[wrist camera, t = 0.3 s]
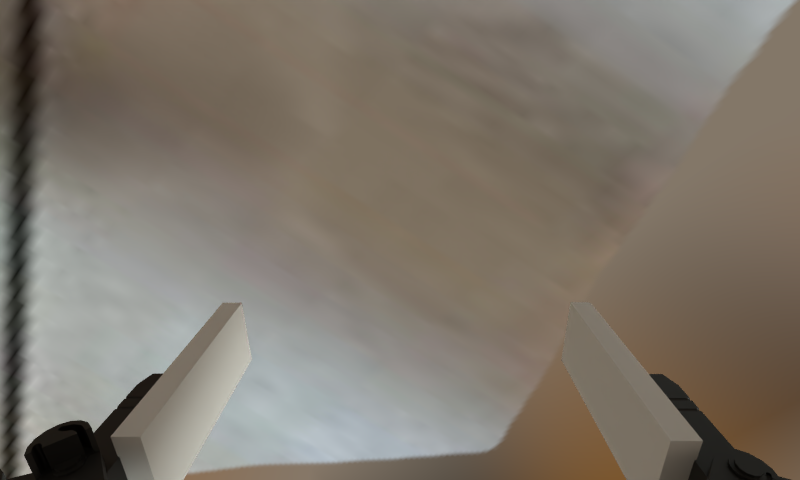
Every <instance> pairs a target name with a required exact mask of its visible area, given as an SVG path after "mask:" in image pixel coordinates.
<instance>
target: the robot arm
mask: <svg viewBox="0 0 800 480" xmlns="http://www.w3.org/2000/svg"><path fill="white" fill-rule="evenodd" d="M251 360H252V358H251V352H250V347H249V341H248V335H247V330H246V324H245V319H244V313H243V307H242V303H222V305H221V306H220V307H219V308H218V309H217V310H216V312H215V313H214V314H213V315H212V316H211V318H210V319H209V320H208V321H207V322H206V324H205V325H204V326H203V327H202V328H201V330H200V331H199V332H198V333H197V334H196V335H195V337H194V338H193V339H192V340H191V341H190V343H189V344H188V345H187V346H186V347H185V349H184V350H183V351H182V352H181V353H180V355H179V356H178V357H177V358H176V359H175V360H174V362H173V363H172V364H171V365H170V366H169V368H168V369H167V370H166V371H165V372H164V374H152V375H150V376H149V377H147V378H146V379H145V380H143V381H142V382H140V383H139V384H137V385H136V387H135V388H134V389H133V390H132V391H131V392H130V393H129V394H128V395H127V397H126V399H124V400H123V401H122V402H121V403H120V404H119V405H118V408H117V409H115V410H114V411H113V412H112V413H111V414H110V416H109V417H108V418H107V419H106V420H105V421H104V422H103V423H102V424H101V426H100V427H99V428H98V429H97V430H96V431H95V432H94V433H93V431H92V428H91V426H90V425H89V423H88V422H85V421H81V420H79V421H69V422H66V423H63V424H59V425H57V426H55V427H53V428H51V429H49V430H47V431H45V432H44V433H42V434H41V435H40V436H38V437H37V438H35V439H34V440H33V442H32V443H31V444H30V445H29V446H28V447H27V449H26V452H25V454H24V456H25V458H26V460H27V463H28V465H29V467H30V469H31V471H32V473H31V474H27V475H23V476H19V477H14V478H10V479H6V477H5V475H4V473H3V472H2V471H1V469H0V480H184V478H185V476H186V474H187V473H188V471H189V469H190V467H191V465H192V464H193V462H194V460H195V458H196V457H197V455H198V453H199V451H200V450H201V448H202V446H203V444H204V443H205V441H206V439H207V437H208V435H209V434H210V432H211V430H212V428H213V427H214V425H215V423H216V421H217V420H218V418H219V416H220V414H221V413H222V411H223V409H224V407H225V406H226V404H227V402H228V400H229V398H230V397H231V395H232V393H233V391H234V390H235V388H236V386H237V384H238V383H239V381H240V379H241V377H242V376H243V374H244V372H245V370H246V368H247V367H248V365H249V363H250V361H251ZM562 362H563V363H564V365H565V367H566V369H567V371H568V373H569V374H570V376H571V378H572V380H573V382H574V384H575V386H576V387H577V389H578V391H579V393H580V395H581V397H582V398H583V400H584V402H585V404H586V406H587V408H588V409H589V411H590V413H591V415H592V417H593V419H594V421H595V422H596V424H597V426H598V428H599V429H600V431H601V433H602V435H603V437H604V439H605V441H606V443H607V444H608V446H609V448H610V450H611V452H612V453H613V455H614V457H615V459H616V461H617V463H618V465H619V467H620V468H621V470H622V472H623V474H624V476H625V478H626V479H627V480H790V479H786V478H782V477H779V476H777V474H776V473H775V472H774V470H773V469H772V468H770V467H769V466H768V465H767V464H765V463H764V462H763V461H762V460H760V459H758V458H756V457H754V456H753V455H750V454H749V453H746V452H743V451H740V450H737V449H734V448H733V447H732V446H731V444H730V443H729V442H728V441H727V440H726V439H725V438H724V436H723V435H722V434H721V433H720V432H719V431H718V430H717V429H716V427H715V426H714V425H713V424H712V423H711V422H710V421H709V420H708V418H707V417H706V416H705V415H704V414H703V413H702V412H701V411H699V408H698V407H697V406H696V405H695V404H694V402H693V401H690V398H689V397H688V396H687V394H686V393H685V392H684V391H683V390H682V389H681V388H680V387H679V385H677V384H676V383H674V382H673V381H671V380H670V379H668V378H667V377H666V376H664V375H663V374H648V373H647V371H646V370H645V369H644V368H643V367H642V365H641V364H640V363H639V362H638V360H637V359H636V358H635V357H634V355H633V354H632V353H631V352H630V351H629V350H628V348H627V347H626V346H625V344H624V343H623V342H622V341H621V340H620V338H619V337H618V336H617V335H616V333H615V332H614V331H613V330H612V328H611V327H610V326H609V325H608V324H607V322H606V321H605V320H604V319H603V317H602V316H601V315H600V314H599V313H598V311H597V310H596V309H595V308H594V306H593V305H592V304H591V303H590V302H571V303H570V309H569V316H568V322H567V328H566V335H565V341H564V347H563V354H562Z"/></svg>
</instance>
